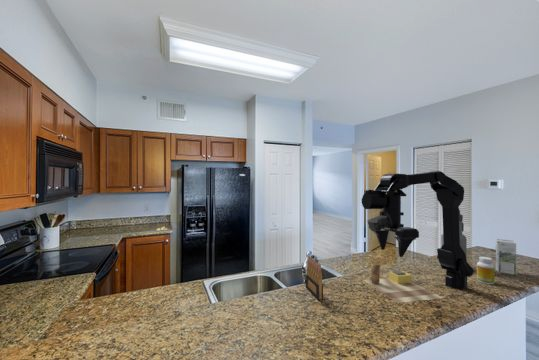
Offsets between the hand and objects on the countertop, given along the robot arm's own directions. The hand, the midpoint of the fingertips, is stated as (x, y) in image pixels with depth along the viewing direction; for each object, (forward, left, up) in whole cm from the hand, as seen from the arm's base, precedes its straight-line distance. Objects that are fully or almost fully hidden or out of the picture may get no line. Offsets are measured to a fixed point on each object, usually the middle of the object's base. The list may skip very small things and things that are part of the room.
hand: (391, 253), depth 87 cm
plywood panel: (-5, -2, -15) cm, 16 cm away
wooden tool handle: (+1, -8, -14) cm, 16 cm away
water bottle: (-51, -21, -15) cm, 57 cm away
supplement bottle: (-46, -3, -15) cm, 49 cm away
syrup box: (-67, -10, -15) cm, 70 cm away
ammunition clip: (+27, -6, -15) cm, 31 cm away
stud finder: (-10, -8, -14) cm, 19 cm away
